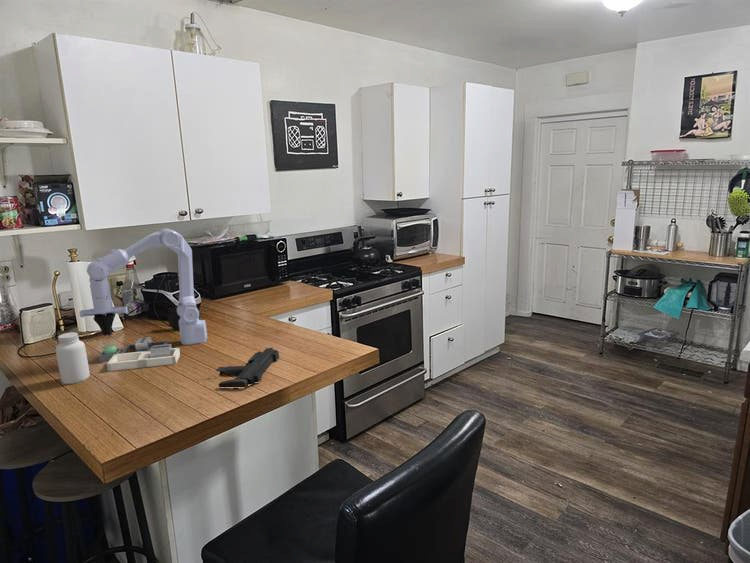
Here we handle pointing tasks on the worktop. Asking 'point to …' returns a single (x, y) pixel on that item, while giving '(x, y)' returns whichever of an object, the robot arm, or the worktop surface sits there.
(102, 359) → the button housing
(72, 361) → the pill bottle
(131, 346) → the tote
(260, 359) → the firearm
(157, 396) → the worktop surface
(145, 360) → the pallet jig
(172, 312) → the rock
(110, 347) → the button
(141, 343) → the block
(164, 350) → the seated billet
